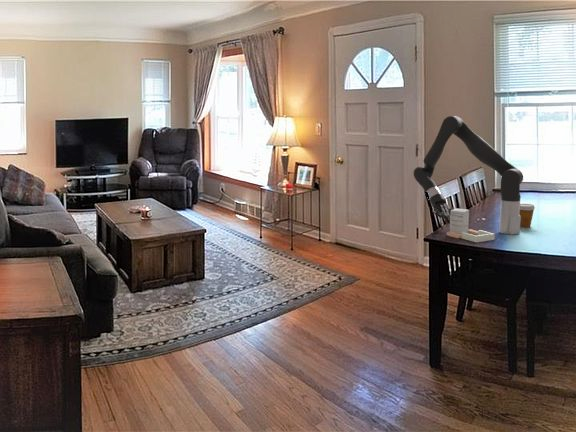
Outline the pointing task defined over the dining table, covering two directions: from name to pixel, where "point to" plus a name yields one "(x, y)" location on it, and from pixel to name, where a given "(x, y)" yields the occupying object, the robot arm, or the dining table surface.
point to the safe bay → (479, 236)
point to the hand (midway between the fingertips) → (449, 223)
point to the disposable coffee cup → (526, 215)
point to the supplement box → (459, 221)
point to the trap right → (473, 232)
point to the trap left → (454, 234)
